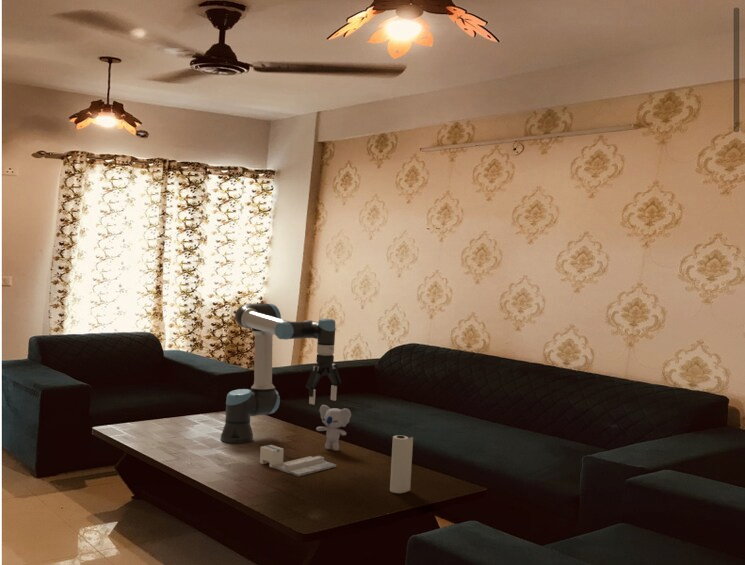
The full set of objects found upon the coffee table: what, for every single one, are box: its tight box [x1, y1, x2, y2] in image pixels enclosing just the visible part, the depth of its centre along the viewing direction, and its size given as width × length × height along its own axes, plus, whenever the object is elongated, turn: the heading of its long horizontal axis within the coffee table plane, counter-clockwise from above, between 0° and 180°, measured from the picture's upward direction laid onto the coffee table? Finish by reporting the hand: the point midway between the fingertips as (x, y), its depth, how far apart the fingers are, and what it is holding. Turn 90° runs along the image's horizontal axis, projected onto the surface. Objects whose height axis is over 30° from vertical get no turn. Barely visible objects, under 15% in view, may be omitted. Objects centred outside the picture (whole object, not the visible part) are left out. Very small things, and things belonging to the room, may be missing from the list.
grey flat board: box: [271, 455, 337, 477], centre depth 305 cm, size 16×22×3 cm
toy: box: [315, 404, 352, 452], centre depth 335 cm, size 17×10×20 cm, turn 62°
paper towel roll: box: [389, 434, 414, 494], centre depth 280 cm, size 7×6×21 cm
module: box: [259, 444, 285, 468], centre depth 307 cm, size 8×6×7 cm
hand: (322, 402), depth 318 cm, fingers open, 13 cm apart
